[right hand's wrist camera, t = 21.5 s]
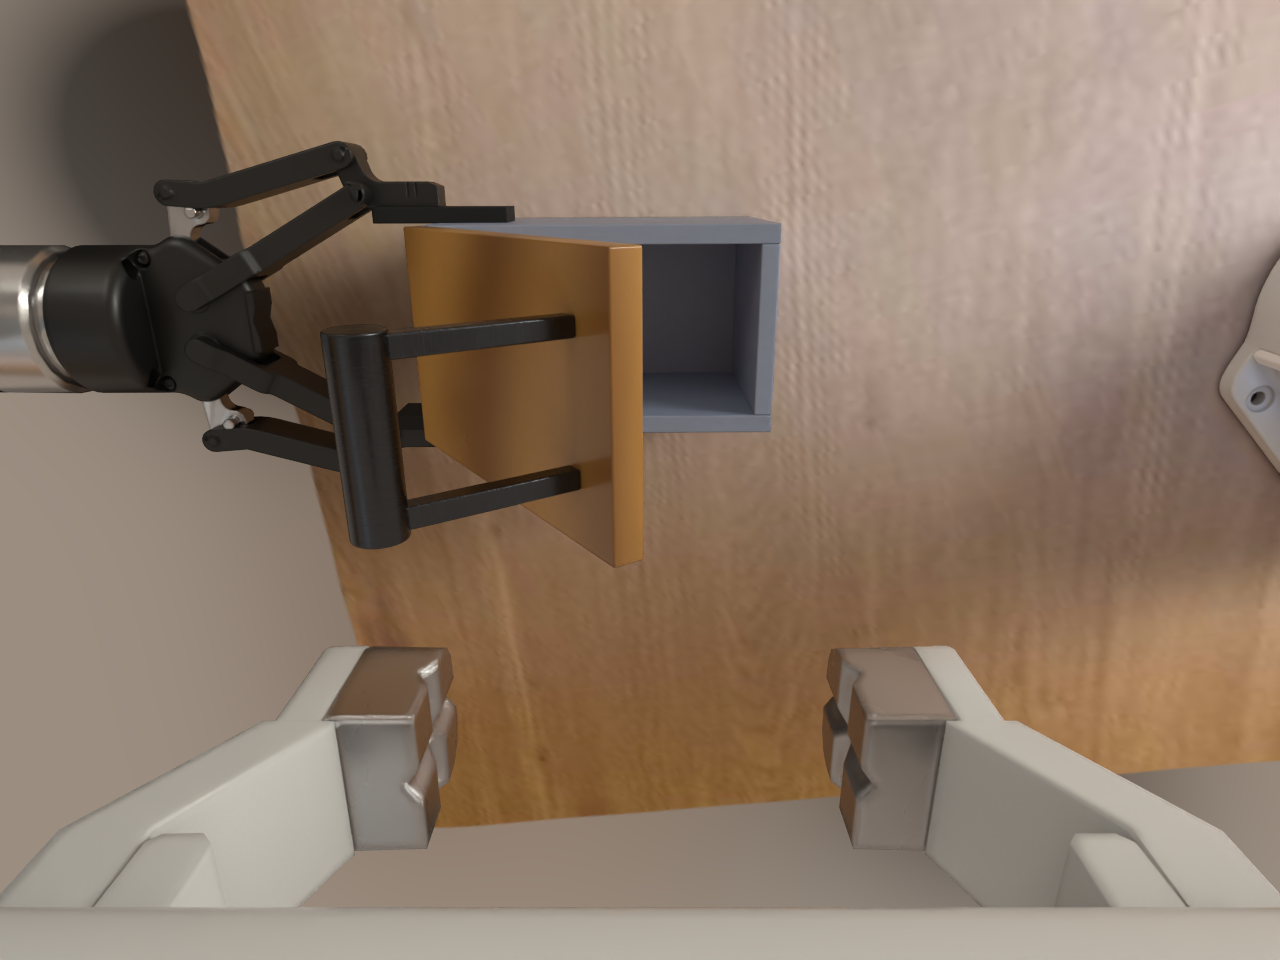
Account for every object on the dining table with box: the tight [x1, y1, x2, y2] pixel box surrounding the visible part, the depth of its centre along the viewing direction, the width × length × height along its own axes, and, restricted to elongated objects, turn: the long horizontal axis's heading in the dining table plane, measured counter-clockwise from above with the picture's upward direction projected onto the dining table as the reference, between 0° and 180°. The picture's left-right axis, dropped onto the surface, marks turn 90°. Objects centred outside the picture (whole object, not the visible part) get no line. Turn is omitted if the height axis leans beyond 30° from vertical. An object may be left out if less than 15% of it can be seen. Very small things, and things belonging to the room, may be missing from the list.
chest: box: [423, 217, 782, 433], centre depth 42 cm, size 16×10×11 cm, turn 90°
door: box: [320, 226, 643, 568], centre depth 28 cm, size 17×10×8 cm
